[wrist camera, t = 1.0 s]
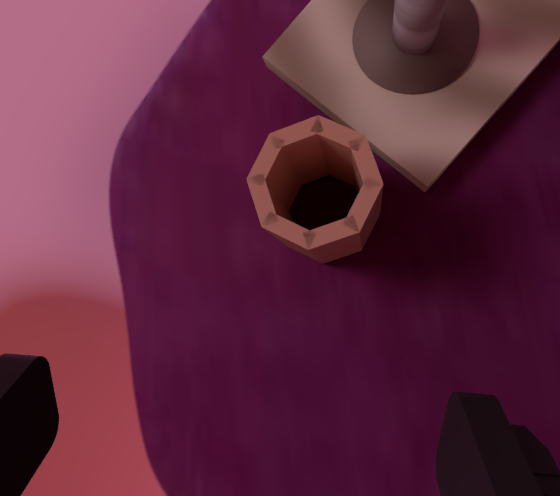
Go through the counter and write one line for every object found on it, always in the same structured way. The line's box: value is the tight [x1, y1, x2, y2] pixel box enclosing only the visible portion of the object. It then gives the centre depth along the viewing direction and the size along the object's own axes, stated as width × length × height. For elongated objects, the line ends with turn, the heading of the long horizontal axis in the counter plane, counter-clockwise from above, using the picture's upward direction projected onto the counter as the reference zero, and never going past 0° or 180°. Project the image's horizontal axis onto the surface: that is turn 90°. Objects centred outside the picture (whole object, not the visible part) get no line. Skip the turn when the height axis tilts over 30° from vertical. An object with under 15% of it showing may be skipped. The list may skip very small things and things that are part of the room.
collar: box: [247, 115, 384, 264], centre depth 29 cm, size 6×6×8 cm
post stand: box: [263, 0, 560, 192], centre depth 29 cm, size 14×14×9 cm
